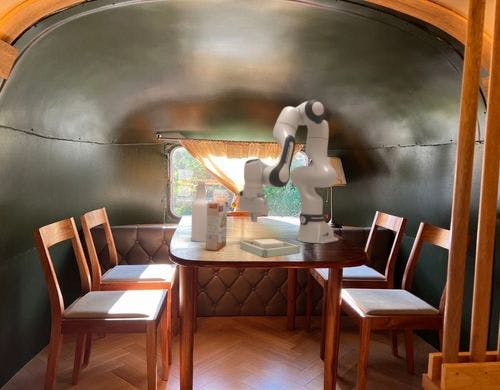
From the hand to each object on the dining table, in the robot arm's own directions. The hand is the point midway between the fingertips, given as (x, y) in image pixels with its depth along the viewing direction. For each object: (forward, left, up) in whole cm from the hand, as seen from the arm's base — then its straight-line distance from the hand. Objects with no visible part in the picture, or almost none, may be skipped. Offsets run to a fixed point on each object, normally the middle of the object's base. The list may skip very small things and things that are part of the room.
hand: (253, 221), depth 165 cm
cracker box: (+19, -1, -11) cm, 22 cm away
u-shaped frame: (+1, +15, -11) cm, 18 cm away
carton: (+3, +16, -11) cm, 20 cm away
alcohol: (+19, -19, -11) cm, 29 cm away
